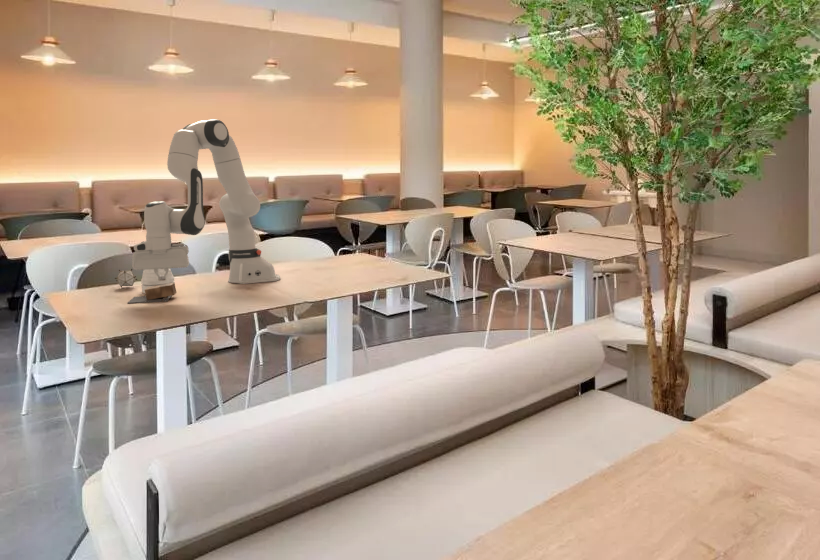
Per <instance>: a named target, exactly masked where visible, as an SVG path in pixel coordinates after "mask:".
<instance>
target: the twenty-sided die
mask: <svg viewBox="0 0 820 560" xmlns="http://www.w3.org/2000/svg"><path fill="white" fill-rule="evenodd" d="M114 279H115V280H116V282H117V283H118V285H119V286H120V287H121V288H123V287H122V286H133V287H134V283H135V282H136V280H138V278H137V276H135V275H134V273H133V268H131V269H129V270H120V269H118V274H117V276H116V277H114Z"/></svg>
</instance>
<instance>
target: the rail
mask: <svg viewBox="0 0 820 560" xmlns="http://www.w3.org/2000/svg"><path fill="white" fill-rule="evenodd" d="M171 298H172V296H167V297H164V299H163V300H162V301H163V302H164V303H165V302H167V303H168V301H169V300H170V299H171Z"/></svg>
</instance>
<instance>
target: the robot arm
mask: <svg viewBox="0 0 820 560" xmlns="http://www.w3.org/2000/svg"><path fill="white" fill-rule="evenodd" d="M206 149H209V151H210V152H211V154H212V155H211V157H212V160H213V164H214V167H215V172H216V175H217V178H218V181H219V183H220V184H221V186H222V187H223V188H224V191H225V192H226V193H225V194H224V195H222V196H221V198H220V200H219V202H218V203H219V209H220V210H221V212H222V214H223V217H224V221H225V224H226V228H227V232H228V233H227V235H228V243H229V244H228V245H229V249H228V260H229V274H228V275H229V276H228V283H231V284H232V283H233V284H241V285H244V284H256V283H266V282H267V283H269V282H277V281H280V280H281V275H280V274H276V271H275V267H274V265H273V264H272V263H271V262H269V261H268V260H267V259H265V258H264V257H262V256H261V255H262V250H260V249H259V248H257V247H256V238H255V237H256V236H255V229H254V228H253V226H252V224H251V221H250V218H252V217H254V216H256V215H258V213H259V211H260V210H261V202H260V201H261V200H260V199H259V198H258V196H257V195H255V193H254V190H253V189H252V187H251V185H250V183H249V181H248V179H247V177H246V175H245V171H244V167H243V164H242V161H241V156H240V152H239V150H238V147H237V145H236V142H235V141H234V139H233V137H232V136H231V135H230V132H229V129H228V127H227V126H226V124H225V123H224V122H223V120H221V119H216V118H215V119H214V118H211V119H208V120H207V119H206V120H205V119H204V120H199V121H197V122H194V123H190V124H187V125H185V126H184V127H183V128H182V129H179V130H177V131H176V132H175V133H174V134H173V137H172V140H171V142H170V145H169V149H168V156H167V163H166V165H167V170H168V172H169V173H170V174H171V176H173V177H174V178H175V179H177V180H180V181H181V182H184V183H185V185H186V187H187V205H186V206H187V207H186V208H174V207H171V206H169V205H168V204H167V202H166V201H164V200H156V201H152V202H148V203H146V205H145V206H144V212H143V213H144V214H143V216H144V217H143V218H144V219H143V220H144V221H143V222H144V228H145V229H146V230H145V231H146V233H145V241H141V242H139V243H137V244H135V245H133V250H134V252H133V253H132V255H131V265H132V266H131V267H132V268H131V269H132V270H134V271H142V270H143V271H144V270H148V269H154V272H155V274H156V275H157V276H158V281H161V280H167V276H166V275H167V274H168V272H169V268H170V269H178V268H179V269H180V268H181V269H182V268H188V267H189V265H190V260H189V252H190V251H189V247H188V245H187V244H184V243H172V235H171V234H176V235H189V236H197V235H199V234H200V233H202V231H203V230H204V227H205V223H206V219H205V215H204V182H203V181H204V180H203V176H202V173H201V171H200V170H199V168H198V167H199V166H198V160H199V152H200V150H206ZM159 269H164V271H166V273H165V275H160V274H159V273H158V271H159Z"/></svg>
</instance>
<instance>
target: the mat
mask: <svg viewBox="0 0 820 560" xmlns="http://www.w3.org/2000/svg"><path fill="white" fill-rule="evenodd" d="M163 299H164V297H161V298H156V299H150V300H147V298H146V295H141V296H133V297H132V298H131V299H130V300H128V301H127V305H128V304H145V303H156V302H158V303H159V302H163V301H164V300H163Z"/></svg>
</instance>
